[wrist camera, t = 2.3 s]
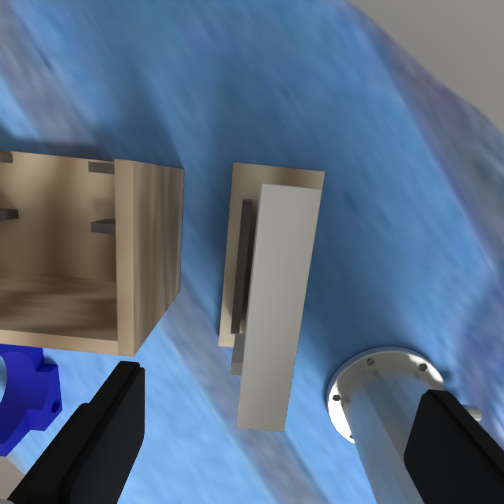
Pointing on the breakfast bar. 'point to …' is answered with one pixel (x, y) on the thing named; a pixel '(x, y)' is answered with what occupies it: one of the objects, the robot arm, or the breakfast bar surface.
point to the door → (274, 304)
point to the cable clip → (27, 394)
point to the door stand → (250, 236)
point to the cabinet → (87, 251)
